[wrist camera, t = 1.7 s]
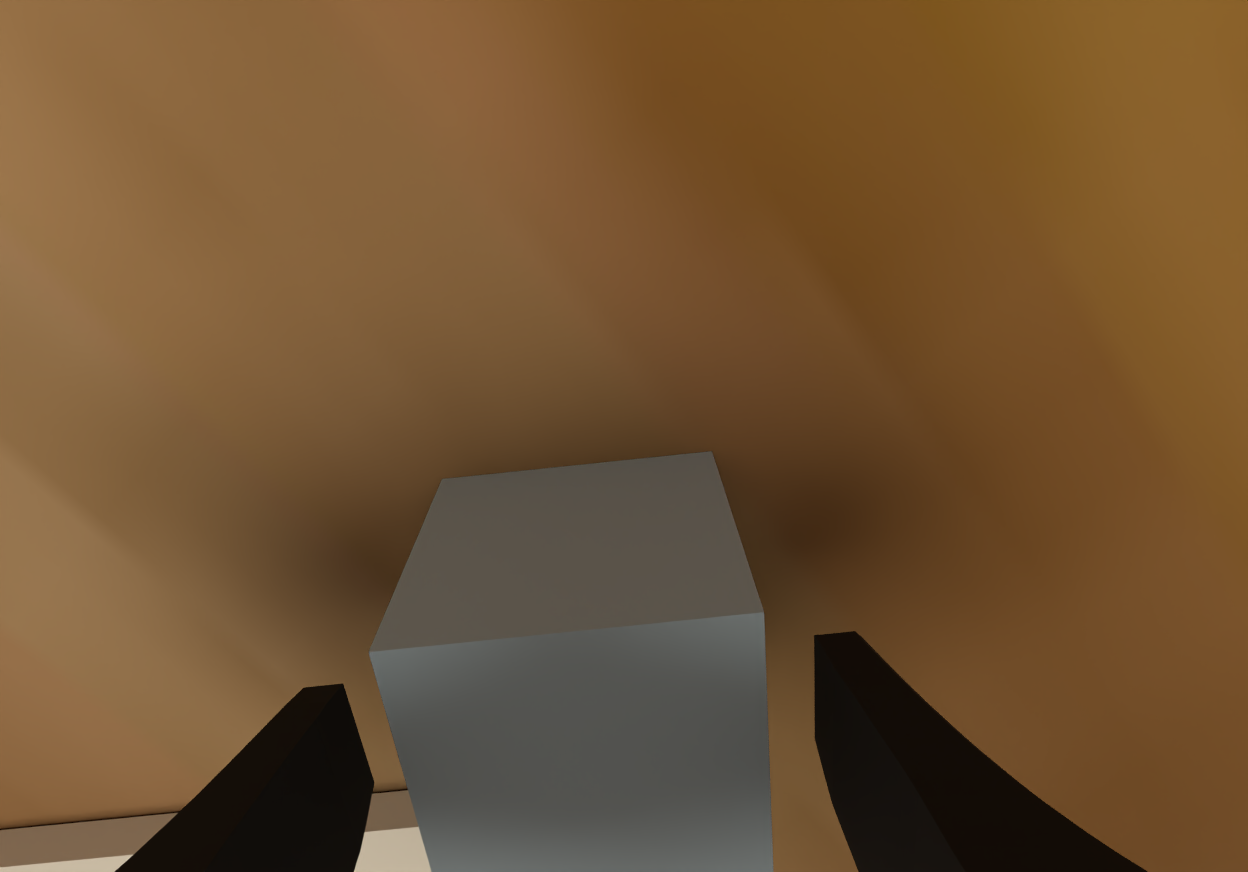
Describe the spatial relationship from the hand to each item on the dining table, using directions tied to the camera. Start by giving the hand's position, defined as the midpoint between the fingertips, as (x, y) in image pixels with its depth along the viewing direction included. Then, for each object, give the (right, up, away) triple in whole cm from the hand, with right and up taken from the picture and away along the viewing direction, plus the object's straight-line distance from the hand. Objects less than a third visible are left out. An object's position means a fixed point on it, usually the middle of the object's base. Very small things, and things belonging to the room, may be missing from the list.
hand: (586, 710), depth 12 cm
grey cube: (0, +1, +3) cm, 4 cm away
